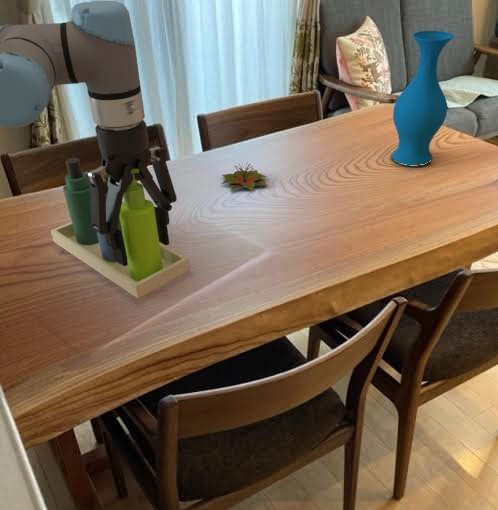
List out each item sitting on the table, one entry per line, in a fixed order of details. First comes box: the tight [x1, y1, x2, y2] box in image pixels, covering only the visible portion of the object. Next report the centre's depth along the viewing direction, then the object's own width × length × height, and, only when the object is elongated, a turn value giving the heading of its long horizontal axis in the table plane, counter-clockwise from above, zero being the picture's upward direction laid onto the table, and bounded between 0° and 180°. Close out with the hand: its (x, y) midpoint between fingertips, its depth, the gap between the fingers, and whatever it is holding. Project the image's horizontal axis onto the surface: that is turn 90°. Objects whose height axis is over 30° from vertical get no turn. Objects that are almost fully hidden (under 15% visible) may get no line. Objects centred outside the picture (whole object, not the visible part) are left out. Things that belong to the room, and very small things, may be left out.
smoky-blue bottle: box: [96, 177, 127, 262], centre depth 97 cm, size 6×6×16 cm
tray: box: [50, 221, 190, 299], centre depth 101 cm, size 28×12×3 cm, turn 46°
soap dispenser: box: [105, 168, 163, 281], centre depth 91 cm, size 6×7×20 cm
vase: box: [391, 30, 455, 168], centre depth 125 cm, size 12×13×28 cm
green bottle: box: [62, 157, 99, 245], centre depth 102 cm, size 6×6×16 cm
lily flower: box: [220, 162, 269, 192], centre depth 125 cm, size 12×12×5 cm
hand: (142, 252), depth 94 cm, fingers open, 8 cm apart
